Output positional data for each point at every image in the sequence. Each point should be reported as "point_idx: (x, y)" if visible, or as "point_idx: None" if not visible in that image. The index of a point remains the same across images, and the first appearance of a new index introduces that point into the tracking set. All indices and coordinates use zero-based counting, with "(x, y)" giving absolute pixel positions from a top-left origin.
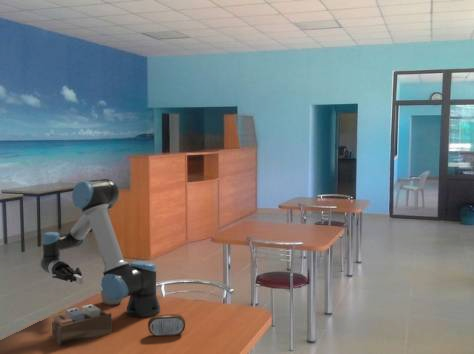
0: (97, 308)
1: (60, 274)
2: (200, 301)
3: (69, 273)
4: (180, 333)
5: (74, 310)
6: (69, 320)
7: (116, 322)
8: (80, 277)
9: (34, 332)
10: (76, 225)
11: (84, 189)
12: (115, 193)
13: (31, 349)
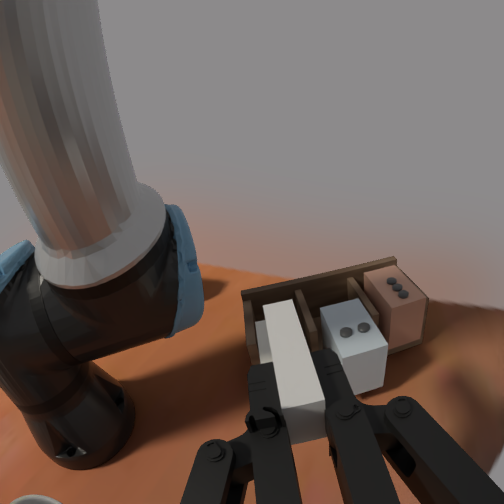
0: (261, 328)
1: (479, 472)
2: None
3: (360, 474)
4: None
5: (352, 332)
6: (373, 271)
7: (201, 395)
8: (280, 305)
9: (484, 393)
10: None
11: None
12: None
13: (458, 303)
